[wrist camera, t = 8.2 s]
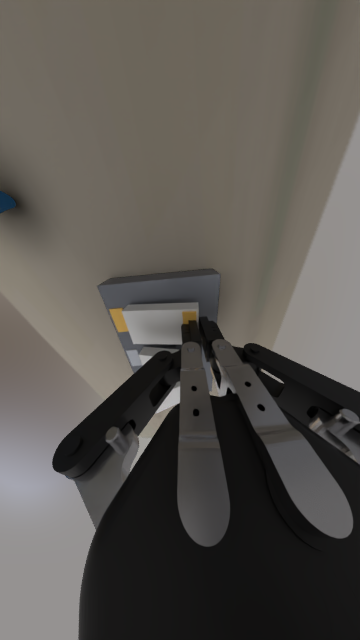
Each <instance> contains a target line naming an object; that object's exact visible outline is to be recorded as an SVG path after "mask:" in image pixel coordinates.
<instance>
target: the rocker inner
mask: <svg viewBox="0 0 360 640" xmlns="http://www.w3.org/2000/svg"><path fill="white" fill-rule="evenodd" d="M122 314H123V317H124V319H125V322H126V325H127V328H128V330H129V333H130V336H131V339H132V342H133V344H182V334H181V326H182V324H189V323H188V320H196V321H197V325H198V329H199V306H198V302H192V303H163V304H134V305H127V306H126V307H125V308H124V309H123V310H122Z"/></svg>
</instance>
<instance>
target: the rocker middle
mask: <svg viewBox="0 0 360 640" xmlns="http://www.w3.org/2000/svg"><path fill="white" fill-rule="evenodd" d="M163 350H166V351H169V352H171V353H175V352H177V351H179V350H178V349H166V348H154V347H143V349H142V350H141V352H140V354H139V357H140V360H141V363H142V366H143V365H144V364H145V363H146V362H147V361H148V360H149V359H151V358H152V357H153V356H154V355H155V354H156V353H157V352H159V351H163Z"/></svg>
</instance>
